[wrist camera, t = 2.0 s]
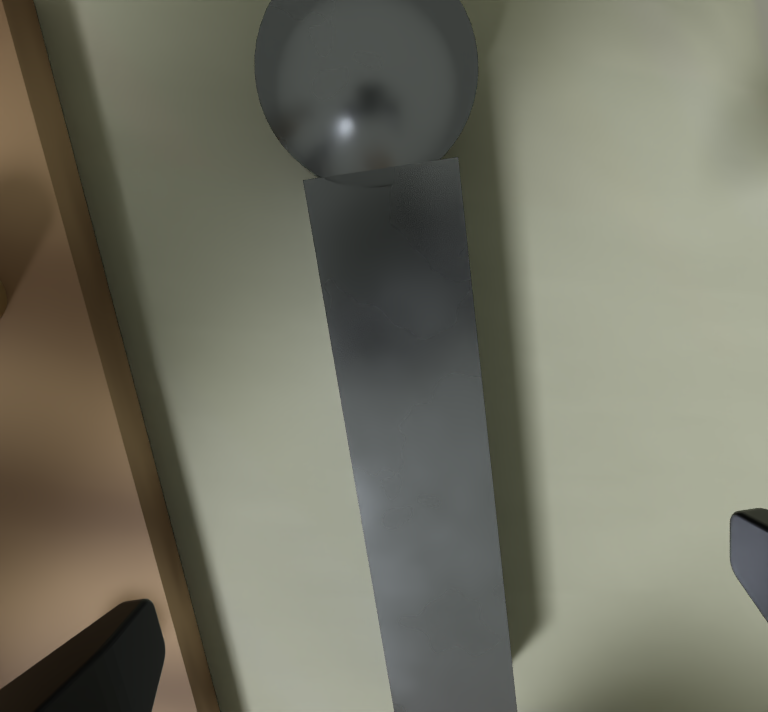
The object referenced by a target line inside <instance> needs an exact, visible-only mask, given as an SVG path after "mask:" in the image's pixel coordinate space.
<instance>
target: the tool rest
mask: <svg viewBox="0 0 768 712" xmlns="http://www.w3.org/2000/svg"><path fill="white" fill-rule="evenodd" d="M145 598H147V599H149V600H151V601H152V602H153V604H154V606H155V609H156V613H157V616H158V620H159V624H160V627H161V631H162V634H163V638H164V642H165V660H164V665H163V669H162V673H161V677H160V681H159V685H158V689H157V693H156V697H155V701H154V705H153V709H152V712H220V709H219V706H218V702H217V698H216V694H215V690H214V687H213V683H212V679H211V675H210V671H209V667H208V664H207V660H206V656H205V652H204V648H203V645H202V641H201V637H200V633H199V629H198V626H197V622H196V618H195V614H194V610H193V607H192V603H191V599H190V595H189V591H188V588H187V584H186V580H185V576H184V572H183V569H182V565H181V561H180V557H179V553H178V550H177V546H176V542H175V538H174V534H173V531H172V527H171V523H170V519H169V515H168V512H167V508H166V504H165V500H164V496H163V492H162V489H161V485H160V481H159V477H158V473H157V470H156V466H155V462H154V458H153V454H152V451H151V447H150V443H149V439H148V435H147V432H146V428H145V424H144V420H143V416H142V413H141V409H140V405H139V401H138V397H137V394H136V390H135V386H134V382H133V378H132V375H131V371H130V367H129V363H128V359H127V356H126V352H125V348H124V344H123V340H122V336H121V333H120V329H119V325H118V321H117V317H116V314H115V310H114V306H113V302H112V298H111V295H110V291H109V287H108V283H107V279H106V276H105V272H104V268H103V264H102V260H101V257H100V253H99V249H98V245H97V241H96V238H95V234H94V230H93V226H92V222H91V219H90V215H89V211H88V207H87V203H86V200H85V196H84V192H83V188H82V184H81V181H80V177H79V173H78V169H77V165H76V161H75V158H74V154H73V150H72V146H71V142H70V139H69V135H68V131H67V127H66V123H65V120H64V116H63V112H62V108H61V104H60V101H59V97H58V93H57V89H56V85H55V82H54V78H53V74H52V70H51V66H50V63H49V59H48V55H47V51H46V47H45V44H44V40H43V36H42V32H41V28H40V25H39V21H38V17H37V13H36V9H35V6H34V2H33V0H0V689H1V688H3V687H4V686H5V685H7V684H8V683H10V682H11V681H12V680H14V679H15V678H17V677H18V676H19V675H21V674H22V673H24V672H25V671H26V670H28V669H29V668H31V667H32V666H33V665H35V664H36V663H38V662H39V661H40V660H42V659H43V658H45V657H46V656H47V655H49V654H50V653H52V652H53V651H54V650H56V649H57V648H59V647H60V646H61V645H63V644H64V643H66V642H67V641H68V640H70V639H71V638H73V637H74V636H75V635H77V634H78V633H79V632H81V631H82V630H84V629H85V628H86V627H88V626H89V625H91V624H92V623H93V622H95V621H96V620H98V619H99V618H100V617H102V616H103V615H105V614H106V613H107V612H109V611H110V610H112V609H113V608H114V607H116V606H117V605H119V604H120V603H122V602H125V601H131V600H138V599H145Z"/></svg>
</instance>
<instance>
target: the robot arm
mask: <svg viewBox="0 0 768 712" xmlns="http://www.w3.org/2000/svg"><path fill="white" fill-rule="evenodd" d="M730 562H731V566H732V569H733V572H734V574H735V575H736V577H737V579H738V580H739V582H740V583H741V584H742V586H743V587H744V589H745V590H746V592H747V593H748V595H749V596H750V598H751V599H752V600H753V602H754V603H755V605H756V606H757V608H758V609H759V611H760V612H761V613H762V615H763V616H764V618H765V619H766V621H767V622H768V510H767V509H763V508H755V509H748V510H741V511H736V512H735V513H734V514H732V516H731V519H730ZM164 660H165V642H164V638H163V634H162V631H161V627H160V624H159V620H158V616H157V613H156V609H155V606H154V604H153V602H152V601H151V600H149V599H147V598H145V599H138V600H131V601H125V602H122V603H120V604H119V605H117V606H116V607H114V608H113V609H112V610H110V611H109V612H107V613H106V614H105V615H103V616H102V617H100V618H99V619H98V620H96V621H95V622H93V623H92V624H91V625H89V626H88V627H86V628H85V629H84V630H82V631H81V632H79V633H78V634H77V635H75V636H74V637H73V638H71V639H70V640H68V641H67V642H66V643H64V644H63V645H61V646H60V647H59V648H57V649H56V650H54V651H53V652H52V653H50V654H49V655H47V656H46V657H45V658H43V659H42V660H40V661H39V662H38V663H36V664H35V665H33V666H32V667H31V668H29V669H28V670H26V671H25V672H24V673H22V674H21V675H19V676H18V677H17V678H15V679H14V680H12V681H11V682H10V683H8V684H7V685H5V686H4V687H3V688H1V689H0V712H152V709H153V705H154V701H155V697H156V693H157V689H158V685H159V681H160V677H161V673H162V669H163V665H164Z"/></svg>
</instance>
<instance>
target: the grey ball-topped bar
mask: <svg viewBox="0 0 768 712" xmlns="http://www.w3.org/2000/svg"><path fill="white" fill-rule="evenodd" d="M255 79H256V87H257V92H258V96H259V100H260V104H261V106H262V109H263V112H264V114H265V117H266V119H267V121H268V123H269V125H270V127H271V129H272V131H273V133H274V134H275V136H276V137H277V138H278V140H279V141H280V143H281V144H282V145H283V147H284V148H285V149H286V150H287V151H288V152H289V153H290V154H291V156H292V157H294V158H295V159H296V160H297V161H298V162H299V163H300V164H302V165H303V166H304V167H305V168H306V169H307V170H309V171H310V172H311V173H312V174H313V175H314V176H316V177H317V178H315V179H308V180H303V183H304V188H305V194H306V200H307V206H308V212H309V217H310V223H311V229H312V235H313V241H314V247H315V252H316V258H317V264H318V270H319V276H320V282H321V287H322V293H323V299H324V305H325V311H326V316H327V322H328V328H329V334H330V340H331V346H332V351H333V357H334V363H335V369H336V375H337V381H338V386H339V392H340V398H341V404H342V410H343V415H344V421H345V427H346V433H347V439H348V445H349V450H350V456H351V462H352V468H353V474H354V480H355V485H356V491H357V497H358V503H359V509H360V514H361V520H362V526H363V532H364V538H365V544H366V549H367V555H368V561H369V567H370V573H371V579H372V584H373V590H374V596H375V602H376V608H377V614H378V619H379V625H380V631H381V637H382V643H383V648H384V654H385V660H386V666H387V672H388V678H389V683H390V689H391V695H392V701H393V707H394V712H517V705H516V695H515V686H514V677H513V667H512V658H511V649H510V639H509V630H508V620H507V611H506V602H505V592H504V583H503V574H502V564H501V555H500V545H499V536H498V527H497V517H496V508H495V498H494V489H493V480H492V470H491V461H490V452H489V442H488V433H487V423H486V414H485V405H484V395H483V386H482V377H481V367H480V358H479V348H478V339H477V330H476V320H475V311H474V301H473V292H472V283H471V273H470V264H469V255H468V245H467V236H466V226H465V217H464V208H463V198H462V189H461V180H460V170H459V161H458V157H455V158H448V159H442V160H439V159H440V158H442V157H443V156H444V155H445V154H446V152H447V151H448V150H449V149H450V148H451V146H452V145H453V144H454V143H455V141H456V140H457V138H458V136H459V135H460V133H461V132H462V130H463V128H464V126H465V124H466V122H467V120H468V117H469V115H470V112H471V109H472V106H473V103H474V98H475V94H476V89H477V80H478V54H477V47H476V41H475V37H474V33H473V30H472V26H471V23H470V21H469V18H468V16H467V13H466V11H465V9H464V7H463V5H462V4H461V2H460V0H271V2H270V4H269V6H268V7H267V9H266V12H265V14H264V17H263V19H262V22H261V25H260V29H259V33H258V37H257V41H256V50H255Z"/></svg>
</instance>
